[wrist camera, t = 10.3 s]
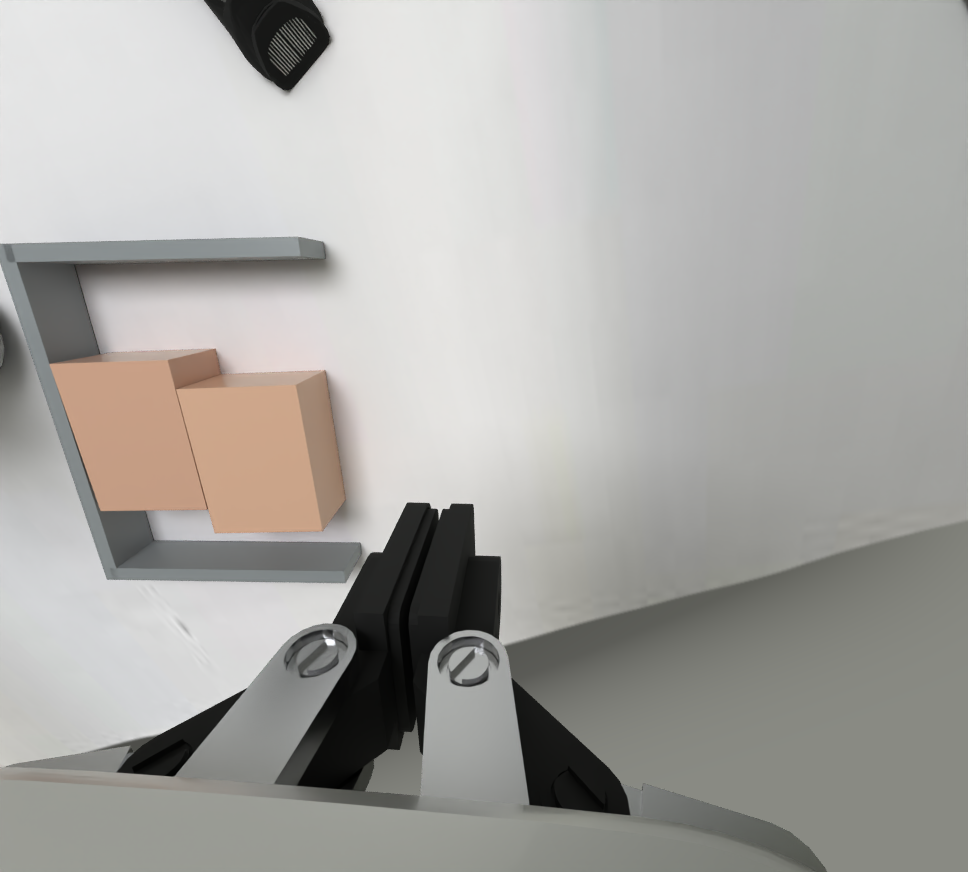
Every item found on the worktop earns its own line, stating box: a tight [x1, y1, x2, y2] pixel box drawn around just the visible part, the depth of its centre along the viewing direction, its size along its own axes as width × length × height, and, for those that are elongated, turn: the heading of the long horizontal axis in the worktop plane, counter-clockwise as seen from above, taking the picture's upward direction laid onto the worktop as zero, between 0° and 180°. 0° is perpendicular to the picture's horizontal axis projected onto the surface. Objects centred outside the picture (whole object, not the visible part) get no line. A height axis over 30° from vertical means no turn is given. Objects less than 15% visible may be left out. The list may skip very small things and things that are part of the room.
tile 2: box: [176, 370, 346, 533], centre depth 25 cm, size 6×8×4 cm
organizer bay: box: [0, 237, 361, 583], centre depth 25 cm, size 14×18×3 cm
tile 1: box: [49, 349, 221, 511], centre depth 25 cm, size 6×8×4 cm
